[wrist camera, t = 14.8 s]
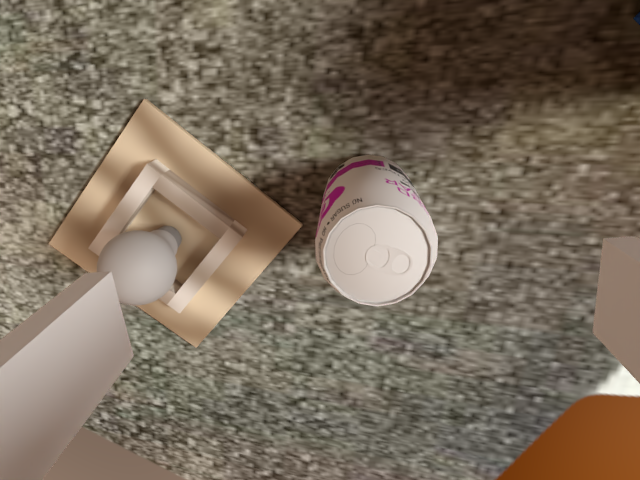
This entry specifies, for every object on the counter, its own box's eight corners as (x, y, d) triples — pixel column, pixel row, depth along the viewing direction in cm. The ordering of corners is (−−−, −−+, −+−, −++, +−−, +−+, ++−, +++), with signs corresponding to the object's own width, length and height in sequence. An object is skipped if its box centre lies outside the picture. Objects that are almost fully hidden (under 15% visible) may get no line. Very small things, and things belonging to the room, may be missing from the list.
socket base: (146, 98, 42) (133, 100, 40) (302, 223, 46) (300, 233, 43) (52, 241, 48) (34, 252, 45) (197, 344, 51) (189, 359, 48)
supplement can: (313, 223, 46) (298, 293, 32) (340, 141, 43) (337, 177, 29) (393, 248, 46) (413, 329, 32) (425, 168, 43) (462, 218, 29)
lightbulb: (215, 239, 46) (178, 289, 36) (172, 275, 48) (124, 333, 37) (170, 192, 45) (117, 229, 34) (127, 230, 46) (65, 278, 36)
